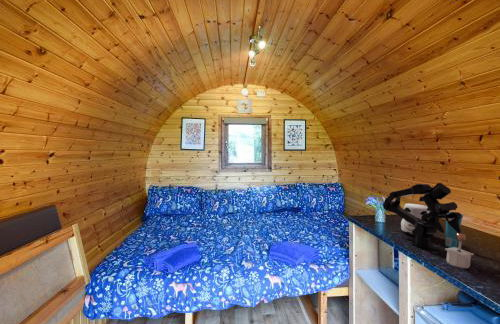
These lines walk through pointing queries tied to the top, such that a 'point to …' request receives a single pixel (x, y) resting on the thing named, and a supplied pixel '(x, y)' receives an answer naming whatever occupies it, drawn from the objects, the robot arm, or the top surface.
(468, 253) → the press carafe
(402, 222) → the milk container
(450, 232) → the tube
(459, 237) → the plunger
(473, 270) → the top surface
